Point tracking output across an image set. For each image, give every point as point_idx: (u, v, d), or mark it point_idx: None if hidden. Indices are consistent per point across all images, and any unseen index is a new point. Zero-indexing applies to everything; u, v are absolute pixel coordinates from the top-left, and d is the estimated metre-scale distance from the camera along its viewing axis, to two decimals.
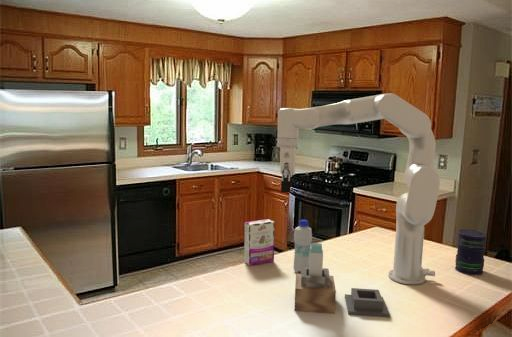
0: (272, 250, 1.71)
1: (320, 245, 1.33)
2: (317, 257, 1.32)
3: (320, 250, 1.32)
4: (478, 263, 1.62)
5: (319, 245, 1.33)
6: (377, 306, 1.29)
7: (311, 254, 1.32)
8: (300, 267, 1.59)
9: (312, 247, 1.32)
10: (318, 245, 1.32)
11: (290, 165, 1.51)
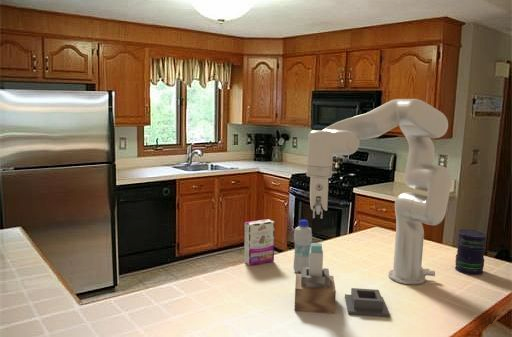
0: (272, 250, 1.71)
1: (320, 245, 1.33)
2: (317, 257, 1.32)
3: (320, 250, 1.32)
4: (478, 263, 1.62)
5: (319, 245, 1.33)
6: (377, 306, 1.29)
7: (311, 254, 1.32)
8: (300, 267, 1.59)
9: (312, 247, 1.32)
10: (318, 245, 1.32)
11: (323, 199, 1.26)
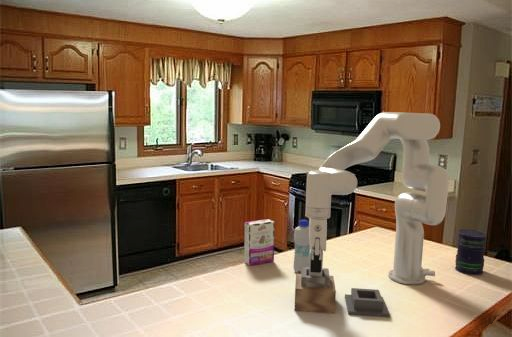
0: (272, 250, 1.71)
1: None
2: None
3: None
4: (478, 263, 1.62)
5: None
6: (377, 306, 1.29)
7: (311, 254, 1.32)
8: (300, 267, 1.59)
9: None
10: None
11: (322, 240, 1.28)
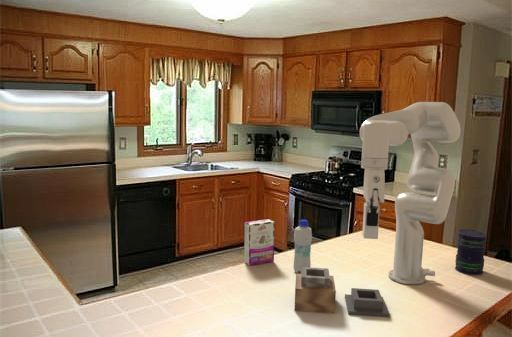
0: (272, 250, 1.71)
1: None
2: None
3: None
4: (478, 263, 1.62)
5: None
6: (377, 306, 1.29)
7: (367, 207, 1.28)
8: (300, 267, 1.59)
9: None
10: None
11: (380, 191, 1.24)
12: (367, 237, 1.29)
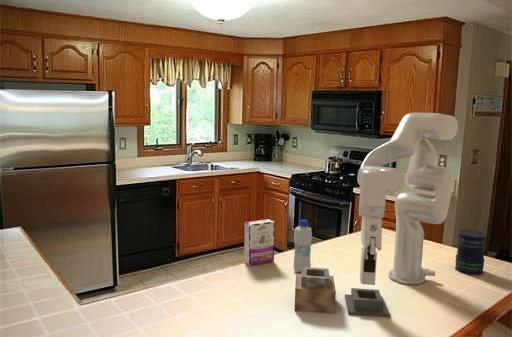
0: (272, 250, 1.71)
1: None
2: None
3: None
4: (478, 263, 1.62)
5: None
6: (377, 306, 1.29)
7: (365, 254, 1.30)
8: (300, 267, 1.59)
9: None
10: None
11: (377, 240, 1.26)
12: (364, 283, 1.31)
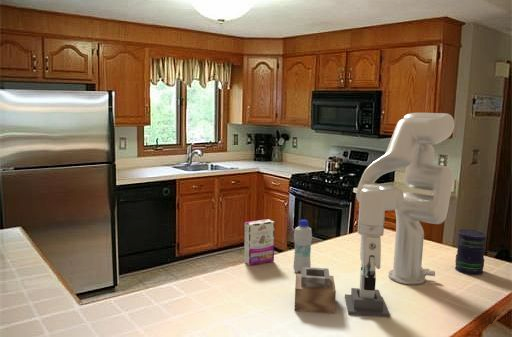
0: (272, 250, 1.71)
1: None
2: None
3: None
4: (478, 263, 1.62)
5: None
6: (377, 306, 1.29)
7: (363, 276, 1.31)
8: (300, 267, 1.59)
9: (364, 269, 1.31)
10: None
11: (376, 258, 1.27)
12: None
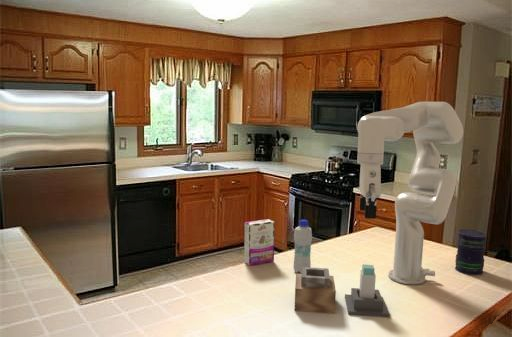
0: (272, 250, 1.71)
1: (372, 267, 1.32)
2: (369, 279, 1.31)
3: (372, 272, 1.31)
4: (478, 263, 1.62)
5: (371, 267, 1.32)
6: (377, 306, 1.29)
7: (363, 276, 1.31)
8: (300, 267, 1.59)
9: (364, 269, 1.31)
10: (371, 267, 1.31)
11: (376, 186, 1.26)
12: None
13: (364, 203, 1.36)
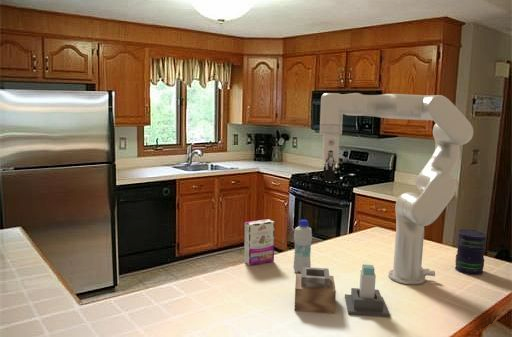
0: (272, 250, 1.71)
1: (372, 267, 1.32)
2: (369, 279, 1.31)
3: (372, 272, 1.31)
4: (478, 263, 1.62)
5: (371, 267, 1.32)
6: (377, 306, 1.29)
7: (363, 276, 1.31)
8: (300, 267, 1.59)
9: (364, 269, 1.31)
10: (371, 267, 1.31)
11: (335, 153, 1.44)
12: None
13: None
